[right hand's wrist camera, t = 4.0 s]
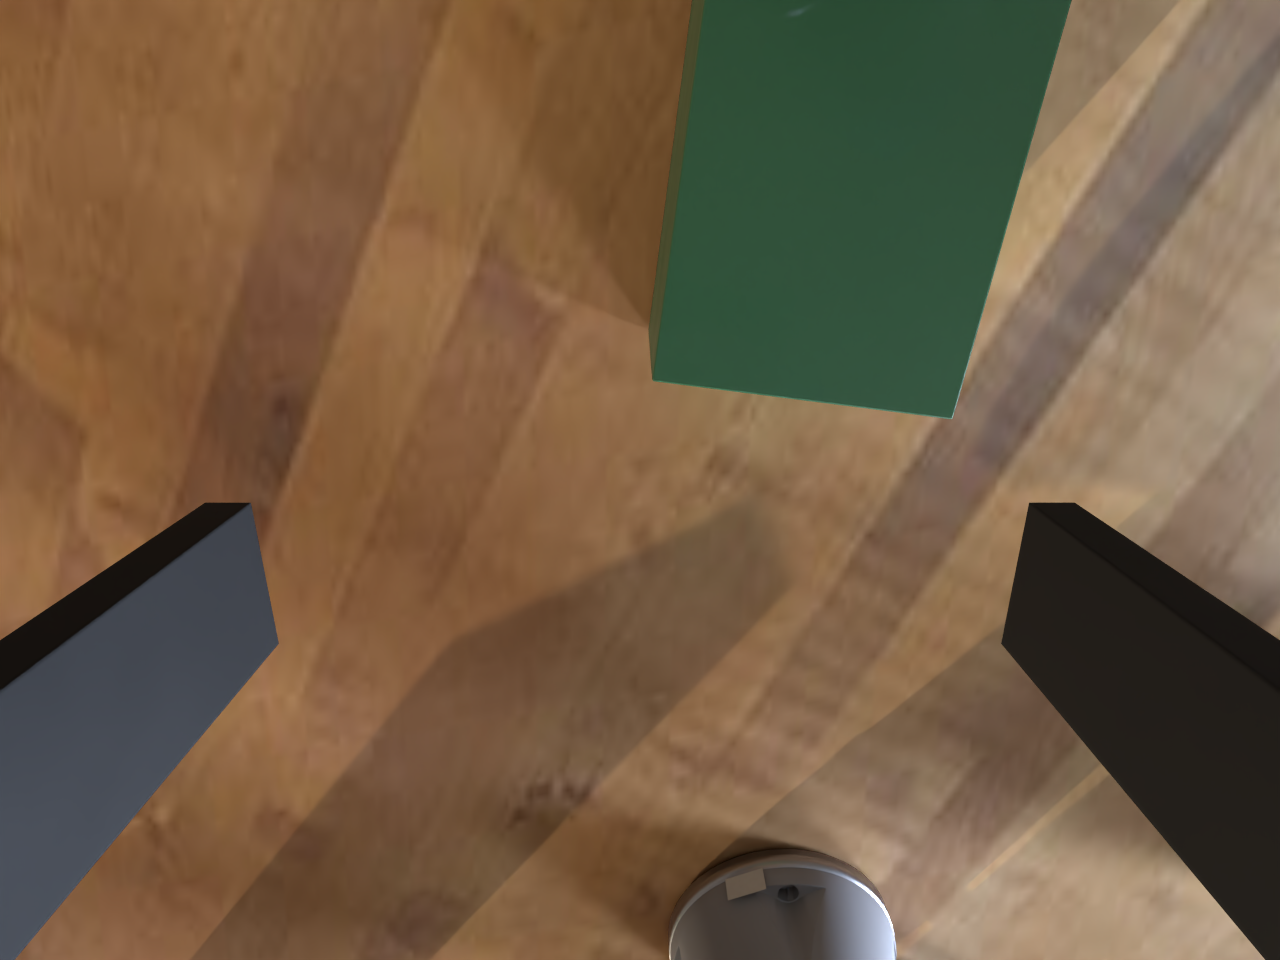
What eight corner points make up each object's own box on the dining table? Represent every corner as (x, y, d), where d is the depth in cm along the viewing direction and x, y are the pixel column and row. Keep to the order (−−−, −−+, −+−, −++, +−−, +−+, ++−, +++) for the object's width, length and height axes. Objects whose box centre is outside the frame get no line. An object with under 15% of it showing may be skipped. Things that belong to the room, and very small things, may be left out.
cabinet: (700, -67, 31) (734, -222, 20) (949, -28, 32) (1117, -159, 20) (648, 331, 37) (652, 381, 26) (859, 358, 37) (952, 419, 26)
